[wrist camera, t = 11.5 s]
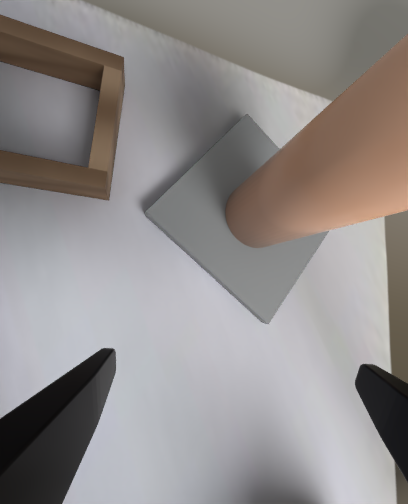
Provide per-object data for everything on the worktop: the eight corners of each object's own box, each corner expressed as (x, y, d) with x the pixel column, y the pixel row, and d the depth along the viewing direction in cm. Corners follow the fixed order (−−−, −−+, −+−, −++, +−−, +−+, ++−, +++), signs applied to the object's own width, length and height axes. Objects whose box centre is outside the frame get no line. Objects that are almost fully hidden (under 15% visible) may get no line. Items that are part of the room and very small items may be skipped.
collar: (109, 200, 17) (105, 187, 15) (-63, 172, 14) (-101, 151, 12) (124, 85, 19) (123, 57, 17) (-28, 38, 16) (-55, -5, 14)
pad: (261, 322, 20) (268, 324, 19) (144, 215, 18) (145, 211, 17) (331, 217, 24) (339, 215, 23) (242, 120, 22) (247, 113, 21)
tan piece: (263, 261, 20) (591, 211, 6) (212, 219, 19) (453, 29, 5) (305, 192, 22) (607, 36, 8) (262, 151, 21) (519, -108, 7)
